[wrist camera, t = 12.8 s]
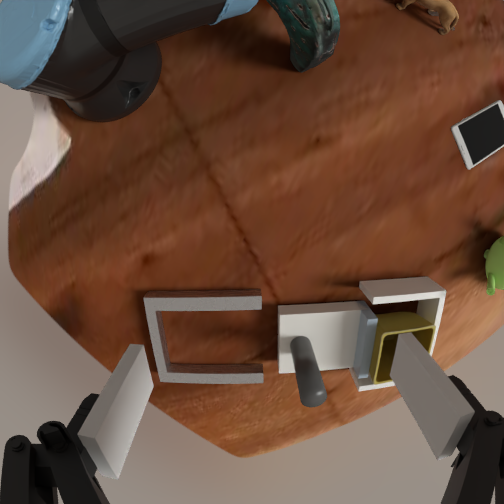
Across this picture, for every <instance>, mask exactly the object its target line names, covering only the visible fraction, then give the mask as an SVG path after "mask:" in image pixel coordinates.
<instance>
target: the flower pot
mask: <svg viewBox="0 0 504 504" xmlns="http://www.w3.org/2000/svg"><path fill="white" fill-rule="evenodd" d="M376 317H377V318H378V322H377V328H376V334H375V341H374V347H373V352H372V358H371V363H370V368H369V373H370V376H371V379H372V382H373V384H374V385H377V384H382V383H387V382H392V381H393V380H392V378H391V377H390V372H391V368H392V364H393V359H394V355H395V350H396V345H397V340H398V335H399V334H403V333H410V332H411V333H412V334H413V335H414V336H415V338H416V339H417V340H418V341H419V342H420V344H421V345H422V346H423V347H424V348H425V349H426V351H427V352H428V353H429V354H430V350H431V347H432V342H433V339H434V334H435V329H436V326H435V325H434V324H432V323H431V322H429V321H427V320H426V319H424V318H423V317H421V316H419V315H417V314H415V313H412V312H393V313H385V314H376Z"/></svg>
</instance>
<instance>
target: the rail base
mask: <svg viewBox="0 0 504 504" xmlns="http://www.w3.org/2000/svg"><path fill="white" fill-rule="evenodd" d="M144 304H145V310H146V316H147V321H148V326H149V332H150V337H151V342H152V346H153V351H154V356H155V360H156V365H157V369H158V374H159V378H160V382H176V383H208V384H241V383H263V364H236V365H201V364H170V359H169V354H168V349H167V343H166V338H165V332H164V326H163V320H162V314H161V311H221V310H260V309H262V296H261V289H246V290H203V291H148V292H147V294H146V295H145V296H144Z"/></svg>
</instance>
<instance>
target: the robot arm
mask: <svg viewBox="0 0 504 504" xmlns="http://www.w3.org/2000/svg"><path fill="white" fill-rule="evenodd" d="M257 2H258V0H2V2H1V3H0V83H3V84H6V85H8V86H10V87H11V88H13V89H17V90H18V89H21V90H26V91H31V92H35V93H39V94H44V95H48V96H52V97H56V98H60V99H63V100H65V102H66V104H67V105H68V107H69V108H70V109H71V110H72V111H73V112H74V113H75V114H77V115H78V116H80V117H82V118H84V119H88V120H92V121H97V122H110V121H115V120H118V119H121V118H123V117H125V116H127V115H129V114H131V113H132V112H134V111H135V110H136V109H138V108H139V107H140V106H141V105H142V104H143V103H144V102H145V101H146V100H147V99H148V97H149V96H150V95H151V93H152V92H153V90H154V88H155V86H156V84H157V82H158V79H159V76H160V72H161V66H162V58H161V52H160V49H159V46H158V44H157V43H156V41H159V40H162V39H164V38H167V37H170V36H172V35H175V34H178V33H181V32H184V31H187V30H190V29H193V28H196V27H200V26H203V25H206V24H208V25H214V24H217V23H218V22H220V21H221V20H224V19H227V18H231V17H234V16H238V15H241V14H244V13H246V12H248V11H250V10H251V9H252V8H253V7H254V6H255V5H256V4H257ZM390 377H391V378H392V380H393V382H394V384H395V385H396V387H397V389H398V390H399V392H400V394H401V396H402V397H403V399H404V401H405V402H406V404H407V406H408V408H409V409H410V411H411V413H412V415H413V416H414V418H415V420H416V421H417V423H418V426H419V427H420V429H421V431H422V433H423V435H424V436H425V438H426V440H427V442H428V444H429V446H430V447H431V449H432V451H433V453H434V455H435V457H436V459H437V460H439V459H442V458H445V457H448V456H450V455H452V453H453V452H454V450H455V448H456V447H457V448H458V450H459V451H460V452H459V454H458V456H457V457H456V459H455V461H454V462H453V464H452V465H451V467H453V466H454V468H453V471H452V474H451V477H450V480H449V483H448V486H447V489H446V491H445V494H444V496H443V499H442V502H441V504H490V503H491V499H492V495H493V491H494V487H495V504H504V418H503V417H502V416H501V415H500V414H499V413H497V412H494V411H486V410H485V409H484V407H483V406H482V405H481V404H480V403H479V401H478V400H477V399H476V397H475V396H474V395H473V394H472V393H471V391H470V390H469V389H468V388H467V387H466V385H465V384H464V383H463V382H462V380H460V379H459V378H457V377H455V376H454V375H452V376H447V375H446V374H445V373H444V371H443V370H442V369H441V368H440V366H439V365H438V364H437V363H436V362H435V360H434V359H433V358H432V357H431V355H430V354H429V353H428V352H427V351H426V349H425V348H424V347H423V346H422V345H421V344H420V342H419V341H418V340H417V339H416V338H415V336H414V335H413V334H412V333H411V332H410V333H403V334H399V335H398V340H397V345H396V350H395V355H394V359H393V364H392V368H391V372H390ZM153 387H154V386H153V382H152V378H151V374H150V370H149V366H148V362H147V357H146V353H145V349H144V345H136V344H130V345H129V347H128V348H127V350H126V352H125V353H124V355H123V357H122V358H121V360H120V362H119V363H118V365H117V366H116V368H115V370H114V371H113V373H112V375H111V377H110V378H109V380H108V382H107V383H106V385H105V387H104V389H103V390H102V392H101V394H100V395H99V394H90V395H89V396H88V397H86V398H85V399H84V400H83V401H82V403H81V405H80V406H79V409H78V410H77V411H76V414H75V415H74V416H73V418H72V419H71V421H70V423H69V425H68V426H67V428H66V427H65V426H64V424H62V423H61V422H58V421H49V422H47V423H44V424H43V425H42V426H40V428H39V429H38V431H37V437H38V439H39V440H40V442H41V444H31V442H30V441H29V439H28V438H27V437H25V436H23V435H17V436H13V437H11V438H10V439H9V440H8V441H7V443H6V445H5V450H4V459H3V467H2V477H1V490H0V504H58V495H57V487H58V490H59V492H60V495H61V498H62V500H63V503H64V504H110V503H109V501H108V500H107V498H106V496H105V494H104V492H103V490H102V488H101V486H100V485H99V482H98V480H97V478H96V477H95V472H96V470H97V469H98V471H99V472H100V474H101V475H102V476H104V477H108V478H113V479H119V476H120V473H121V470H122V468H123V465H124V462H125V459H126V457H127V454H128V451H129V449H130V446H131V443H132V440H133V438H134V435H135V433H136V430H137V427H138V425H139V422H140V420H141V417H142V414H143V412H144V409H145V407H146V404H147V402H148V399H149V397H150V394H151V392H152V389H153Z"/></svg>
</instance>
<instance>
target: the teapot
mask: <svg viewBox="0 0 504 504" xmlns="http://www.w3.org/2000/svg"><path fill="white" fill-rule="evenodd" d="M484 258H485V259H486V264H485V269H486V276H487V279H488V280H487V291H486V292H487V294H488V295H493V294H494V293H495V288H497V289H501V290H504V236H502V237H500V238H499V239H497V240H496V241H495V242H494V243H493V245H492V246H491V248H490V249H487V250H486V251H485V253H484Z"/></svg>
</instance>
